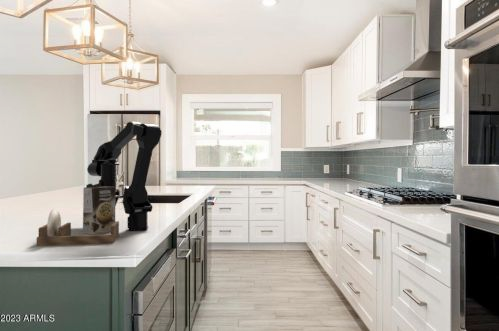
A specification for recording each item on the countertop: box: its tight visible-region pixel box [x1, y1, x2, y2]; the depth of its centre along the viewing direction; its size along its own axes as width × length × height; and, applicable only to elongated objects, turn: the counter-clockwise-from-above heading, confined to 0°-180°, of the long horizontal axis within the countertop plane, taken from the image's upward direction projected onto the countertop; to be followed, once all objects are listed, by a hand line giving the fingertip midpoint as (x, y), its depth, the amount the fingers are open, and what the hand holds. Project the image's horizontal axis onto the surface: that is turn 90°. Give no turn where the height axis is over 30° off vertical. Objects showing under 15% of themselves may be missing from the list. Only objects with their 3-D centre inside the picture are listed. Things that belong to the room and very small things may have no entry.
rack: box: [36, 209, 120, 247], centre depth 114 cm, size 22×10×10 cm, turn 101°
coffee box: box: [82, 186, 117, 235], centre depth 129 cm, size 9×6×16 cm
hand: (108, 215), depth 144 cm, fingers open, 9 cm apart
